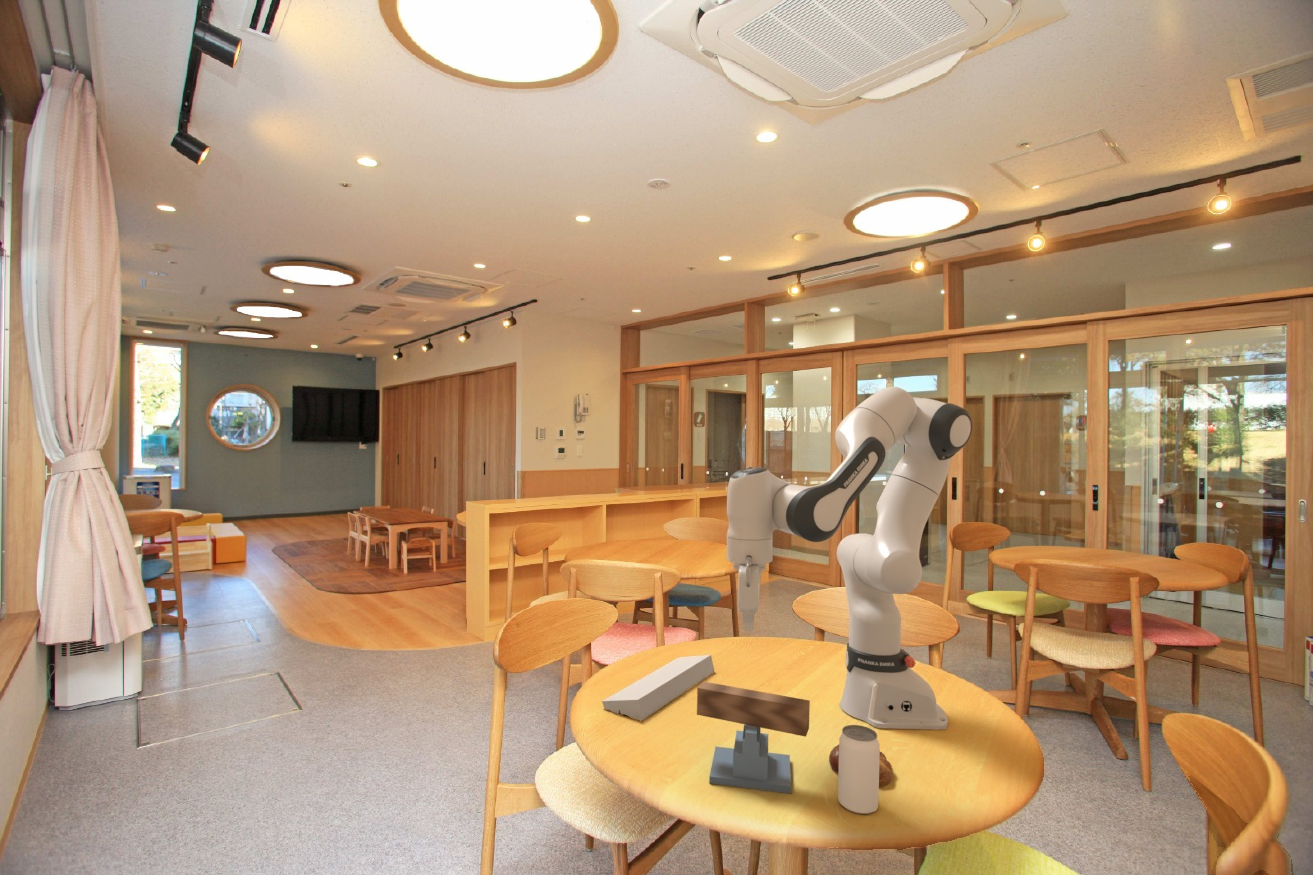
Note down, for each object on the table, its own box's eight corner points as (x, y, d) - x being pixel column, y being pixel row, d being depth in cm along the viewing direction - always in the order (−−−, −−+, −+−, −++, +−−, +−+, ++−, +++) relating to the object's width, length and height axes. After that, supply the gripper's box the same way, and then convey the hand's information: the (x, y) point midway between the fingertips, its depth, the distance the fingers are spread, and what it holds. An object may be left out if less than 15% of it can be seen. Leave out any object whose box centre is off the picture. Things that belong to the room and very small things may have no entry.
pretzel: (908, 783, 113) (909, 762, 112) (860, 795, 108) (861, 774, 108) (862, 750, 124) (862, 732, 123) (817, 760, 119) (817, 741, 119)
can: (873, 820, 100) (875, 745, 100) (833, 807, 104) (834, 734, 104) (882, 801, 106) (883, 730, 106) (843, 788, 109) (845, 720, 109)
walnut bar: (809, 728, 112) (809, 700, 112) (805, 736, 109) (806, 708, 109) (702, 707, 120) (703, 681, 120) (696, 714, 116) (697, 687, 116)
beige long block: (605, 723, 139) (642, 722, 134) (601, 701, 139) (638, 699, 134) (682, 675, 168) (715, 673, 162) (678, 657, 168) (711, 654, 163)
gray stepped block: (789, 761, 118) (790, 712, 118) (790, 793, 107) (791, 740, 107) (715, 752, 121) (716, 705, 121) (709, 783, 110) (710, 731, 110)
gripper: (765, 562, 111) (765, 640, 111) (766, 542, 131) (766, 608, 131) (730, 561, 112) (730, 638, 112) (735, 542, 132) (735, 607, 132)
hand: (749, 622), depth 122 cm, fingers open, 8 cm apart
